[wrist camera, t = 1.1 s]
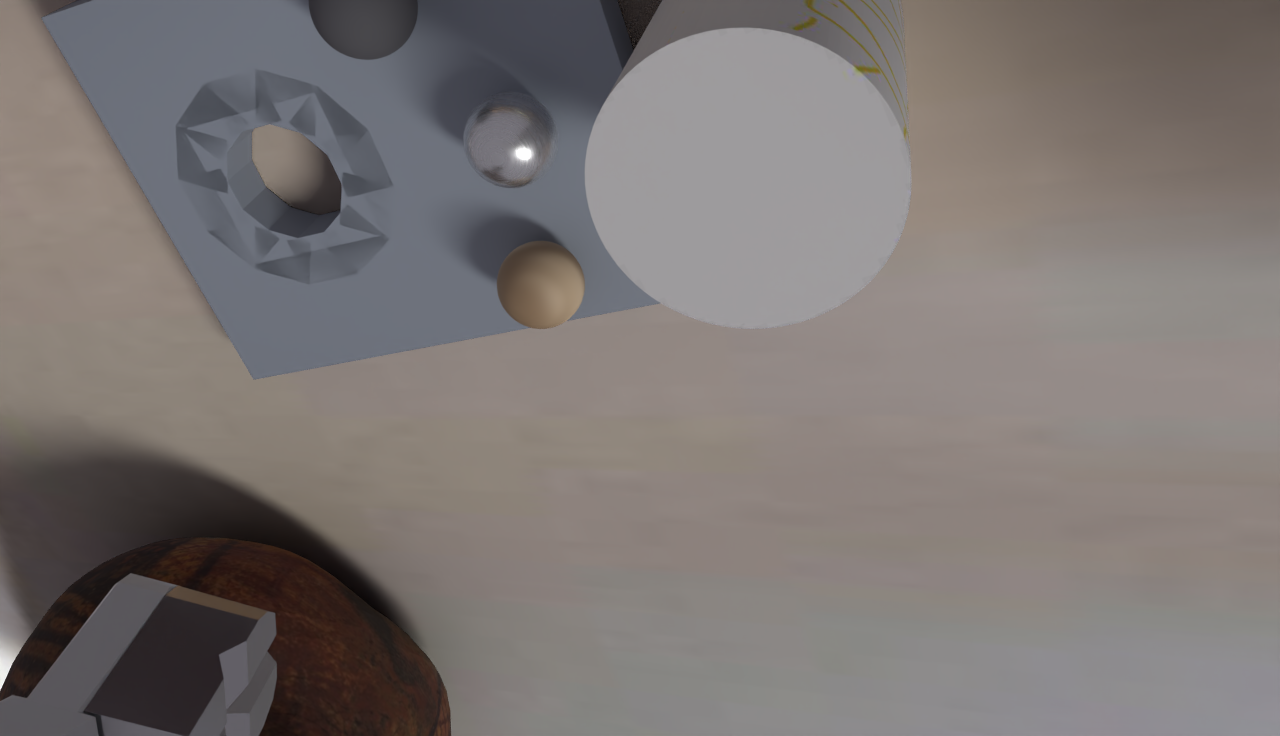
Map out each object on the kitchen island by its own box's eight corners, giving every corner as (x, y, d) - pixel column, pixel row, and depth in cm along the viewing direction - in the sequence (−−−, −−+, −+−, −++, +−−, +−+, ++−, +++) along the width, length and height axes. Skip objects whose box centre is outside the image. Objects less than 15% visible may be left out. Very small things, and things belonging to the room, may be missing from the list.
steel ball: (549, 67, 37) (524, 102, 35) (581, 154, 39) (559, 193, 36) (465, 90, 38) (434, 125, 36) (499, 173, 40) (472, 212, 37)
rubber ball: (406, -77, 35) (366, -50, 33) (448, 26, 37) (413, 59, 34) (317, -47, 36) (271, -19, 34) (361, 51, 38) (320, 86, 35)
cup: (911, 138, 38) (920, 317, 29) (683, 163, 41) (619, 338, 31) (895, -109, 34) (899, 4, 24) (641, -67, 36) (552, 52, 27)
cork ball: (576, 217, 40) (555, 259, 38) (604, 292, 42) (586, 337, 39) (497, 234, 41) (471, 276, 39) (528, 307, 43) (505, 352, 40)
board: (564, -165, 35) (549, -154, 33) (703, 270, 43) (696, 296, 41) (74, 1, 41) (41, 17, 40) (274, 354, 49) (253, 379, 48)
